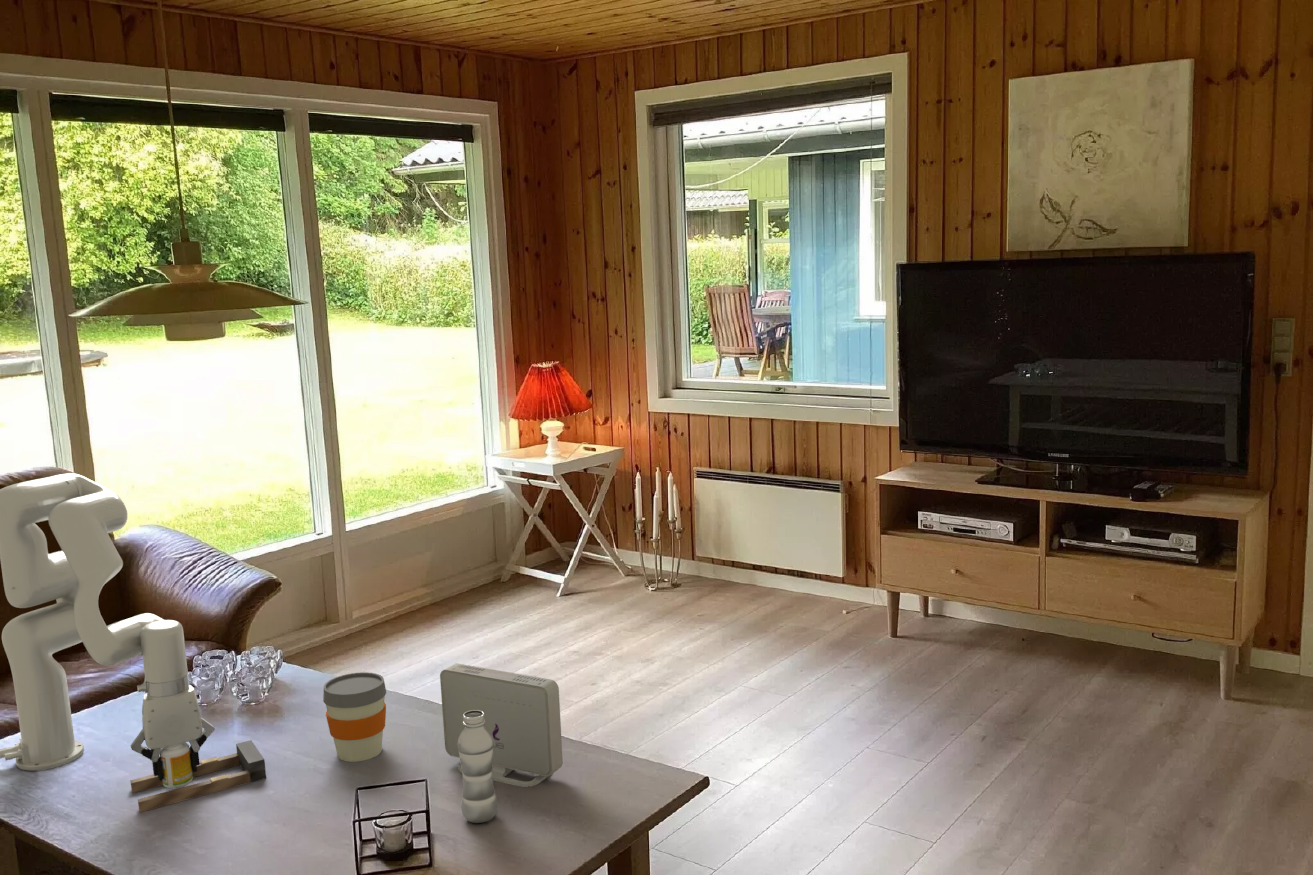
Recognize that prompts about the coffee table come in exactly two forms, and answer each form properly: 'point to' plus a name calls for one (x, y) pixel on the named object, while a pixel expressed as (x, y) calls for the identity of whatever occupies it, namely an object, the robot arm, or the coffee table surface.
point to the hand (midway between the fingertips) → (177, 772)
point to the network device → (506, 718)
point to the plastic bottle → (477, 769)
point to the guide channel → (244, 757)
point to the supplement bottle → (176, 765)
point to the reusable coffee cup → (356, 714)
